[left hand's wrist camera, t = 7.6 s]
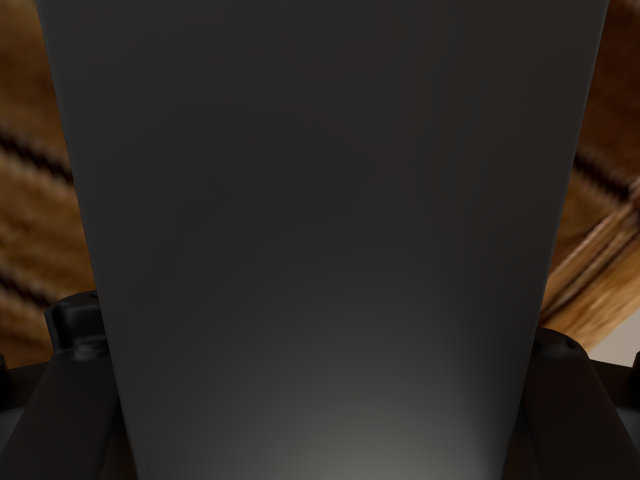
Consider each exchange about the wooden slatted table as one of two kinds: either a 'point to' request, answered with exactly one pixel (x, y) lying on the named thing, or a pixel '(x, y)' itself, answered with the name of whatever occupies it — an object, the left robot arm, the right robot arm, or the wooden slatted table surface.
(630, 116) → the wooden slatted table surface
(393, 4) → the bar
